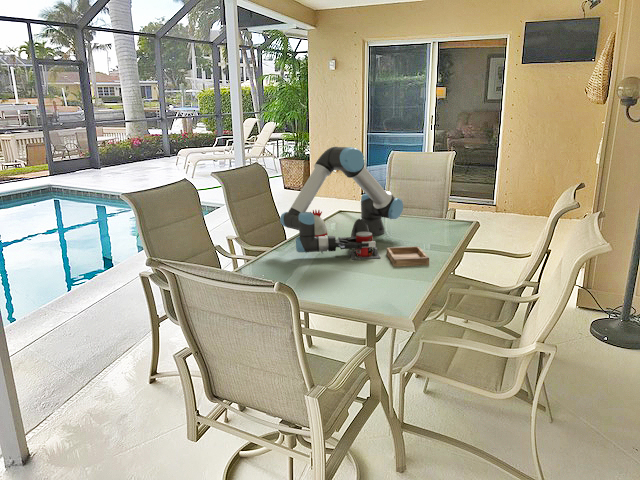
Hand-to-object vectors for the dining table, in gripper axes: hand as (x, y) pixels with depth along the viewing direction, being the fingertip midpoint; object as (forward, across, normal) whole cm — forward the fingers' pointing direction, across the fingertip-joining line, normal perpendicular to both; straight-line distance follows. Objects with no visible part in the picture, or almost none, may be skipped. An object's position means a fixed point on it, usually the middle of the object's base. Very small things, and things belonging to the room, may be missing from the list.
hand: (374, 241), depth 240 cm
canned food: (-5, 0, -7) cm, 8 cm away
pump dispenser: (-5, -15, -7) cm, 17 cm away
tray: (+14, +10, -6) cm, 19 cm away
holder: (-5, 0, -6) cm, 8 cm away
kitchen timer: (-27, -45, -7) cm, 53 cm away
